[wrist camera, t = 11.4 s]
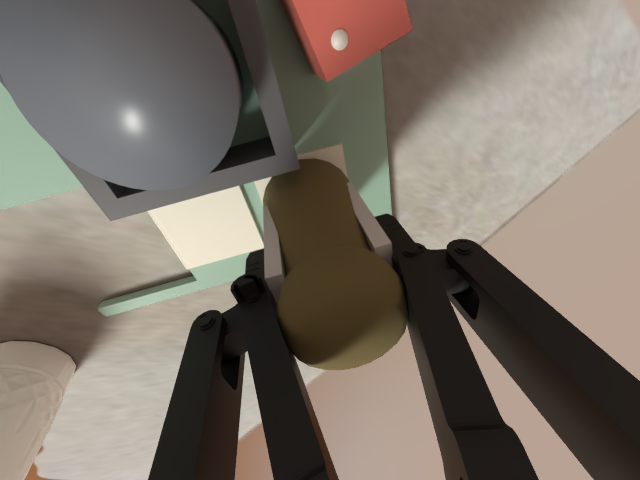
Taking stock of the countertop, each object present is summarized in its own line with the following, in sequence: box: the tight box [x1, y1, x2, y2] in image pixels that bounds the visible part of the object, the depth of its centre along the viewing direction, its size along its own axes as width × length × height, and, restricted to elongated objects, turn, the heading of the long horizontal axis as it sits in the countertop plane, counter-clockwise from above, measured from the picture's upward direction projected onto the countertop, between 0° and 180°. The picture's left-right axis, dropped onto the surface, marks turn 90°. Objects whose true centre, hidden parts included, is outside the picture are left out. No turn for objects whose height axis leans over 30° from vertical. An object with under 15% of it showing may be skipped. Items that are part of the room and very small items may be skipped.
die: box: [280, 0, 412, 82], centre depth 12 cm, size 4×4×4 cm
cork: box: [263, 158, 408, 370], centre depth 14 cm, size 6×6×11 cm
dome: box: [0, 0, 243, 190], centre depth 11 cm, size 7×7×5 cm
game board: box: [0, 0, 392, 317], centre depth 16 cm, size 19×24×4 cm
